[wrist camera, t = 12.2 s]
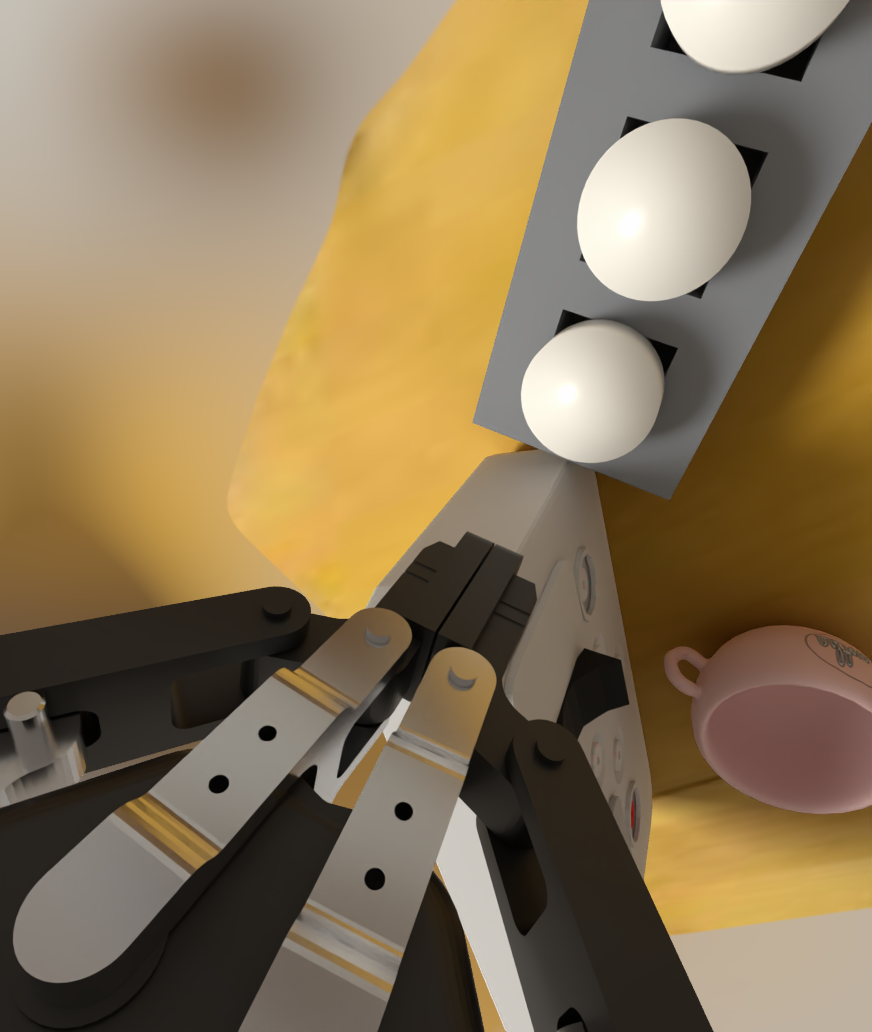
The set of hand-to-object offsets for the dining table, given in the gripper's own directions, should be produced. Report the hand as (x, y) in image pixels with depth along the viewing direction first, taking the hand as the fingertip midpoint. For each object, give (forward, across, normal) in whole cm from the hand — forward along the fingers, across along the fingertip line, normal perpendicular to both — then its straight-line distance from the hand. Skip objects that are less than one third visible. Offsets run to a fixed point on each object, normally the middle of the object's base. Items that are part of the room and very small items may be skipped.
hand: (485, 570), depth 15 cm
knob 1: (+19, 0, -7) cm, 20 cm away
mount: (+20, 0, -7) cm, 21 cm away
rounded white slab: (+20, -5, +18) cm, 27 cm away
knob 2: (+19, 0, 0) cm, 19 cm away
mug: (+20, -15, +14) cm, 29 cm away
